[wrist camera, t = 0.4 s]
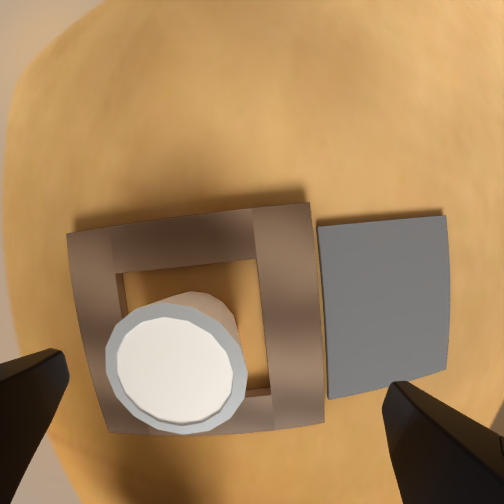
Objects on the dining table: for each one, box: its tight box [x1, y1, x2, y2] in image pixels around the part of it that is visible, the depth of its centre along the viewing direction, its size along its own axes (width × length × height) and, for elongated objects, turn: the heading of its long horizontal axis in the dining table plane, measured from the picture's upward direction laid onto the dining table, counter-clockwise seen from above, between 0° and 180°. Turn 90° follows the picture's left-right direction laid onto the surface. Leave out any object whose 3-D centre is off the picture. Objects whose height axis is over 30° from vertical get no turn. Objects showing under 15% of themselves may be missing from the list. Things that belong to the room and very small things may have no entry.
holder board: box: [66, 202, 325, 436], centre depth 19 cm, size 15×16×1 cm
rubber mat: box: [316, 215, 450, 400], centre depth 20 cm, size 12×10×1 cm
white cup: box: [106, 291, 248, 435], centre depth 17 cm, size 7×7×7 cm
